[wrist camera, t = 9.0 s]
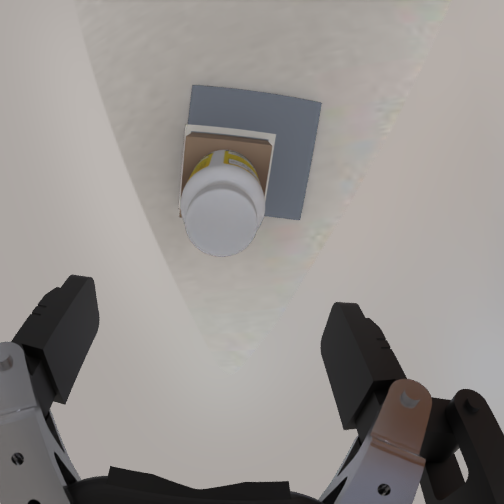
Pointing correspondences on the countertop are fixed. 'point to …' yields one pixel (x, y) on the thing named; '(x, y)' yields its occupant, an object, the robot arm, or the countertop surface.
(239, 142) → the walnut block
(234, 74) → the countertop surface
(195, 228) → the supplement bottle
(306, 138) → the mat
